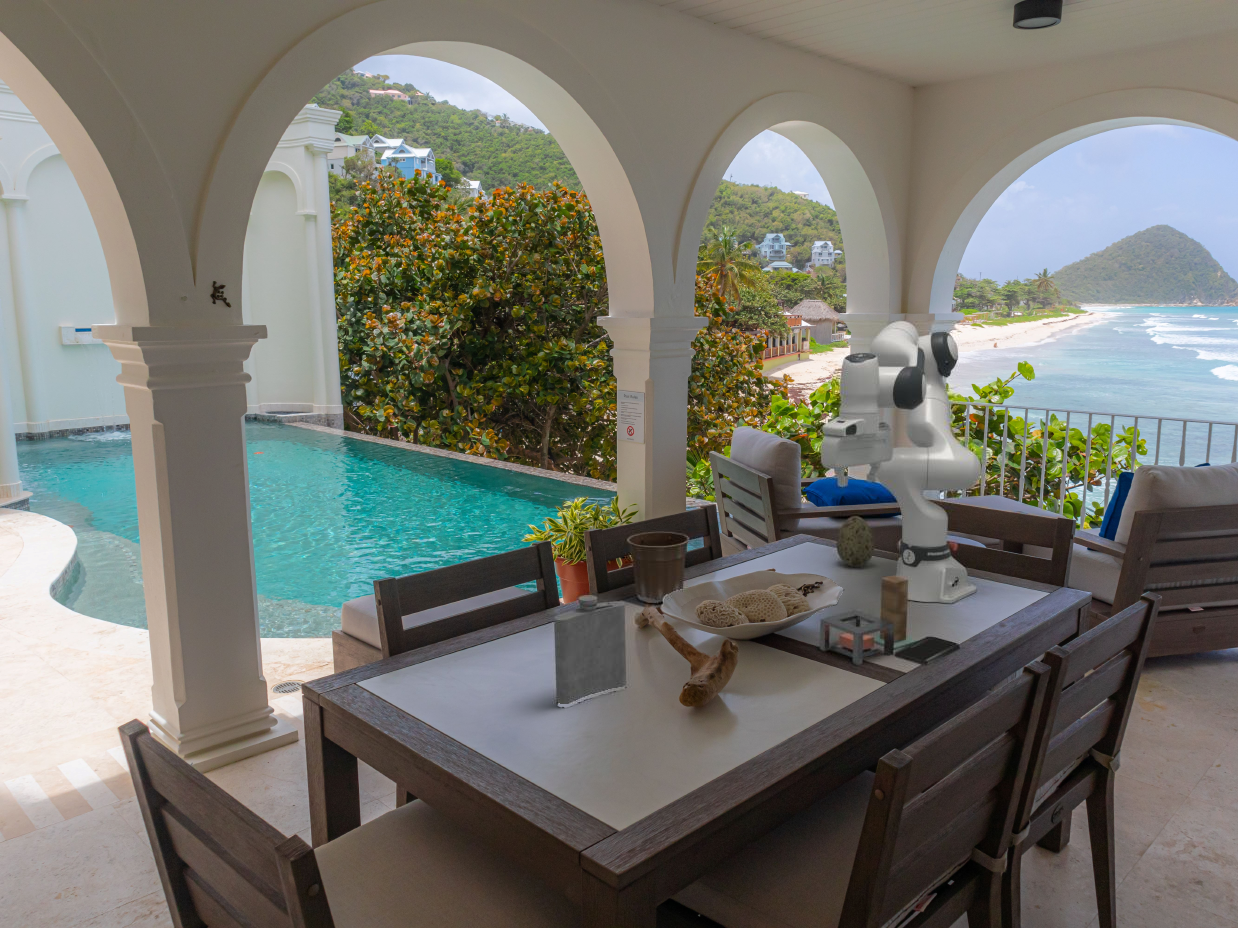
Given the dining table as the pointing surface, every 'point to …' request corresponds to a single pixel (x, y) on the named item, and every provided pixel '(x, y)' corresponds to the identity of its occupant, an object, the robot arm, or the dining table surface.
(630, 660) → the dining table surface
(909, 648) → the phone
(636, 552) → the plant pot
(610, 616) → the hip flask
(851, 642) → the salmon pink panel
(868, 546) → the decorative egg
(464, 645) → the dining table surface
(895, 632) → the peg
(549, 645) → the dining table surface
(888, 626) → the frame
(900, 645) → the mat
